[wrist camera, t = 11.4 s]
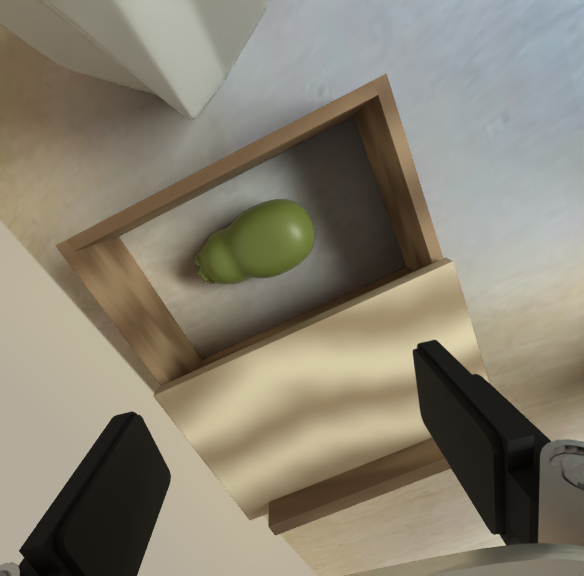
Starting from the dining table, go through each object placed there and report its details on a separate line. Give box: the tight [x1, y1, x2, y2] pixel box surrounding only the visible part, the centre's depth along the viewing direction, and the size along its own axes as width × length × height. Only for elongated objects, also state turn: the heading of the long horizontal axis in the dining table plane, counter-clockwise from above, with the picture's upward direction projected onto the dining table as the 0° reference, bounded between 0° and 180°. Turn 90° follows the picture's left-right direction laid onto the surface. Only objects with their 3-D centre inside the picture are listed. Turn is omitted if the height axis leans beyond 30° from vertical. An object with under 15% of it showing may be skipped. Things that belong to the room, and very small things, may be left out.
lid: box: [154, 258, 489, 535], centre depth 23 cm, size 15×23×3 cm, turn 115°
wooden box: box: [56, 74, 443, 386], centre depth 26 cm, size 27×23×6 cm
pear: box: [194, 199, 314, 284], centre depth 24 cm, size 6×5×10 cm
